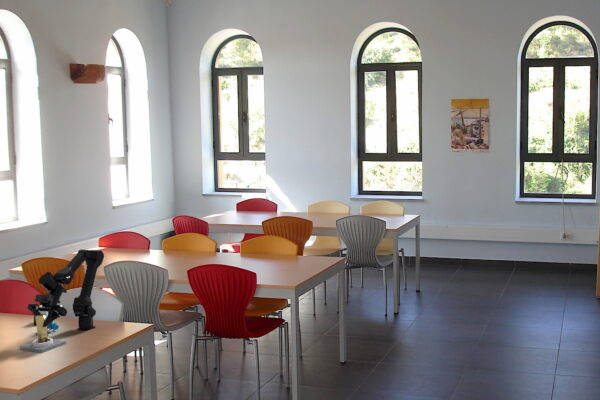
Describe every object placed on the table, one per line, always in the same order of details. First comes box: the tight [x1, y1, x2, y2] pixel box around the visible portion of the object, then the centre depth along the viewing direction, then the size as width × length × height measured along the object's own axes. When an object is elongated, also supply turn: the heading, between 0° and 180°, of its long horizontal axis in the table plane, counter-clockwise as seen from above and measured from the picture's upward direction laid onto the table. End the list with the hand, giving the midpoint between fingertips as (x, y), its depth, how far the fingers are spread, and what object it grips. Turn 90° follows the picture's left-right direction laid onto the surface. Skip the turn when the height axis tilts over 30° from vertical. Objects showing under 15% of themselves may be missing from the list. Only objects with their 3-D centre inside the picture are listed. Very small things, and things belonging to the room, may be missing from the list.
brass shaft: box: [35, 314, 49, 343], centre depth 346 cm, size 4×4×13 cm
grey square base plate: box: [19, 337, 67, 353], centre depth 347 cm, size 14×14×3 cm
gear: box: [47, 321, 60, 331], centre depth 370 cm, size 11×6×10 cm
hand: (39, 326), depth 345 cm, fingers open, 5 cm apart
